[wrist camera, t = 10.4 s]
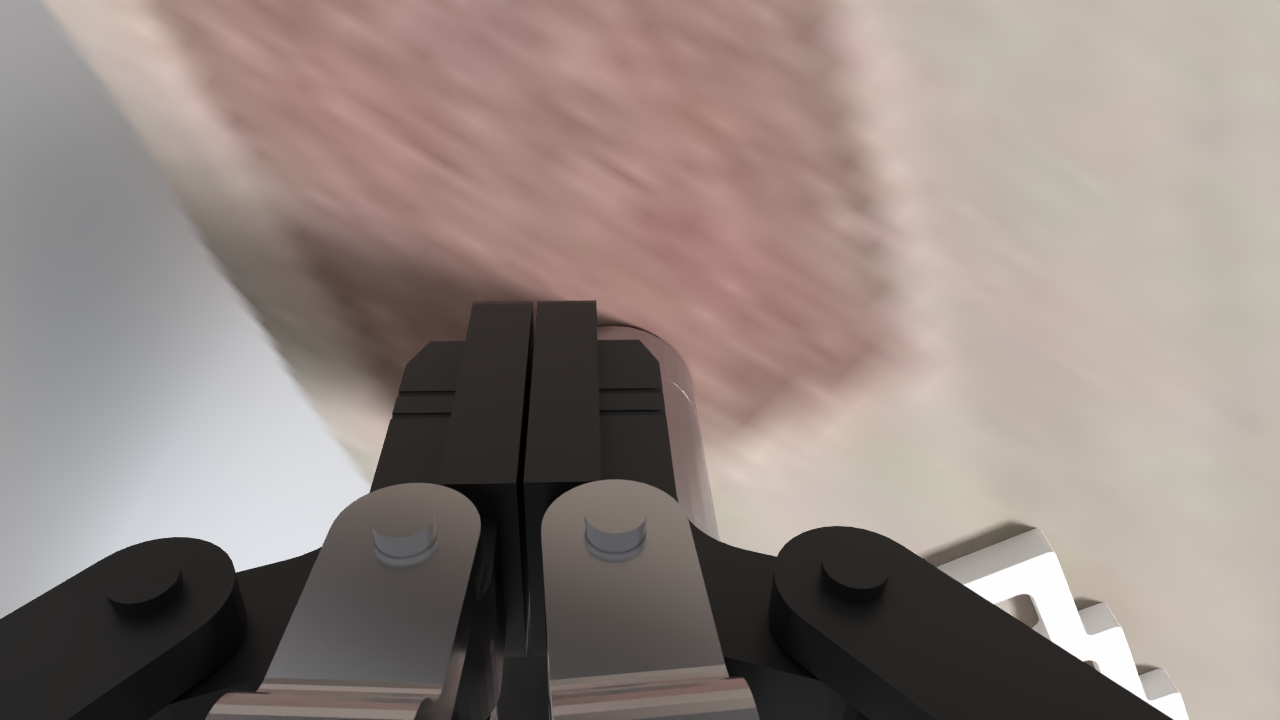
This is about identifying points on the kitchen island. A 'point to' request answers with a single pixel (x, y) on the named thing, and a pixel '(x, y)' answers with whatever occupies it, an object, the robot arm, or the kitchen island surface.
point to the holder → (1062, 613)
